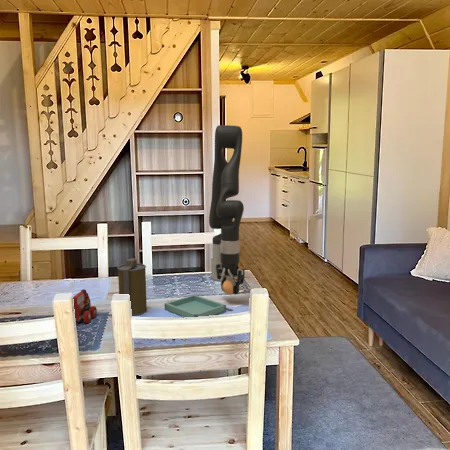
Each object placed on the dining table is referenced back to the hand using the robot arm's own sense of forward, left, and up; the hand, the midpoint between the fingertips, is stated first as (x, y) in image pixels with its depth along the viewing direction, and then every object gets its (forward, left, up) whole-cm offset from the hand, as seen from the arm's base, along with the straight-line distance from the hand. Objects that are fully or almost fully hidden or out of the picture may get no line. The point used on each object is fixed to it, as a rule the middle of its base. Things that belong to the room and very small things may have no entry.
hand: (229, 292), depth 175 cm
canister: (-19, -33, -4) cm, 38 cm away
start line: (-2, -7, -4) cm, 8 cm away
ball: (0, 0, +2) cm, 2 cm away
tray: (-3, -16, -4) cm, 17 cm away
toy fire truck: (-25, -50, -5) cm, 56 cm away
